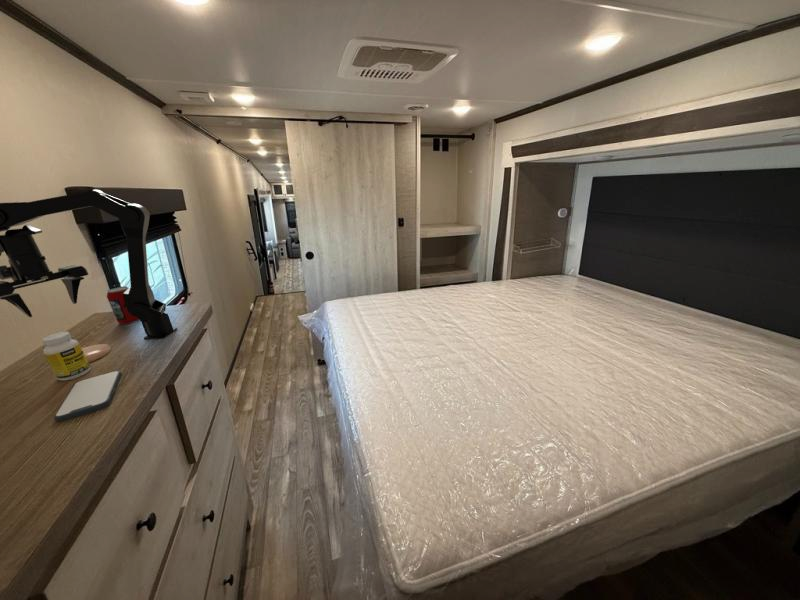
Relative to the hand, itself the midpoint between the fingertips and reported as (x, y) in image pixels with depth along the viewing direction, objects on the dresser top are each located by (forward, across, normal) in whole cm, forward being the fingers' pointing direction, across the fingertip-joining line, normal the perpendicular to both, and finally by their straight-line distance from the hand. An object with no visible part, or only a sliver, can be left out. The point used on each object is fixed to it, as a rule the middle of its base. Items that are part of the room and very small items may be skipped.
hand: (53, 309), depth 86 cm
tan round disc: (+14, 0, +6) cm, 15 cm away
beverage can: (+14, -19, -10) cm, 26 cm away
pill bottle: (+14, +6, +15) cm, 21 cm away
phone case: (+14, +10, +30) cm, 35 cm away
